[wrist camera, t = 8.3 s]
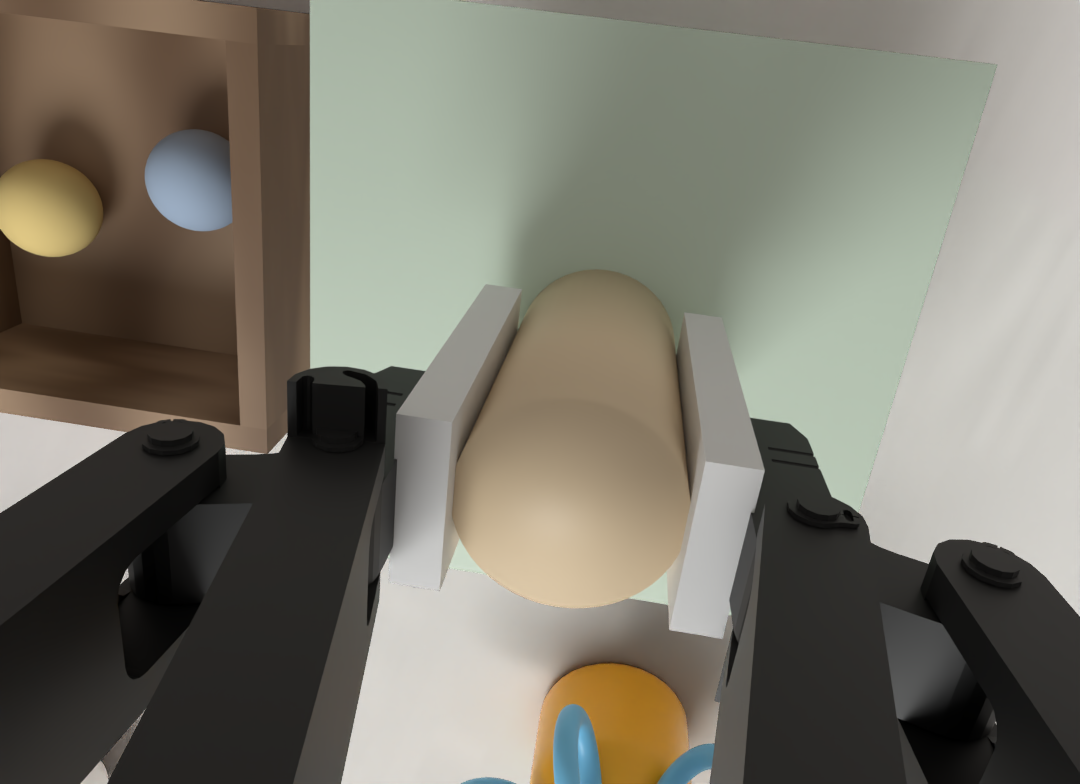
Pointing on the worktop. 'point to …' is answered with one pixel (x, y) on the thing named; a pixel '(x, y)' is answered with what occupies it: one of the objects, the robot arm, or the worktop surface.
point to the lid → (623, 250)
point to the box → (159, 216)
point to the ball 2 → (191, 179)
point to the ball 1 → (49, 208)
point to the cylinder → (613, 731)
